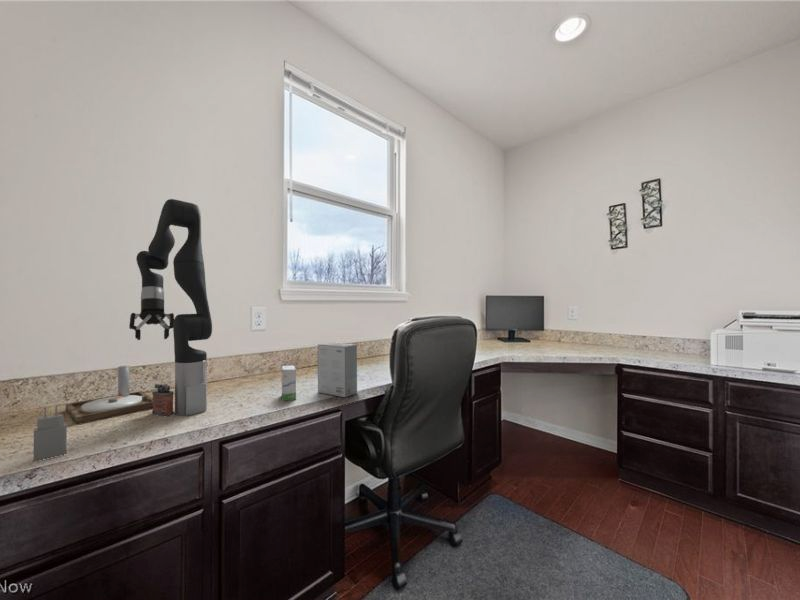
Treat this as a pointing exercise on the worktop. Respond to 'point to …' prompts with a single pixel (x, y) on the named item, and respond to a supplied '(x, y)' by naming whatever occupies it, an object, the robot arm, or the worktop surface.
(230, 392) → the worktop surface
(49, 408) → the worktop surface
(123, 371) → the cylinder on round base
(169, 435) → the worktop surface
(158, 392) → the lighter
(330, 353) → the hard drive box
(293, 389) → the ink box
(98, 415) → the wooden tray
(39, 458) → the power adapter
